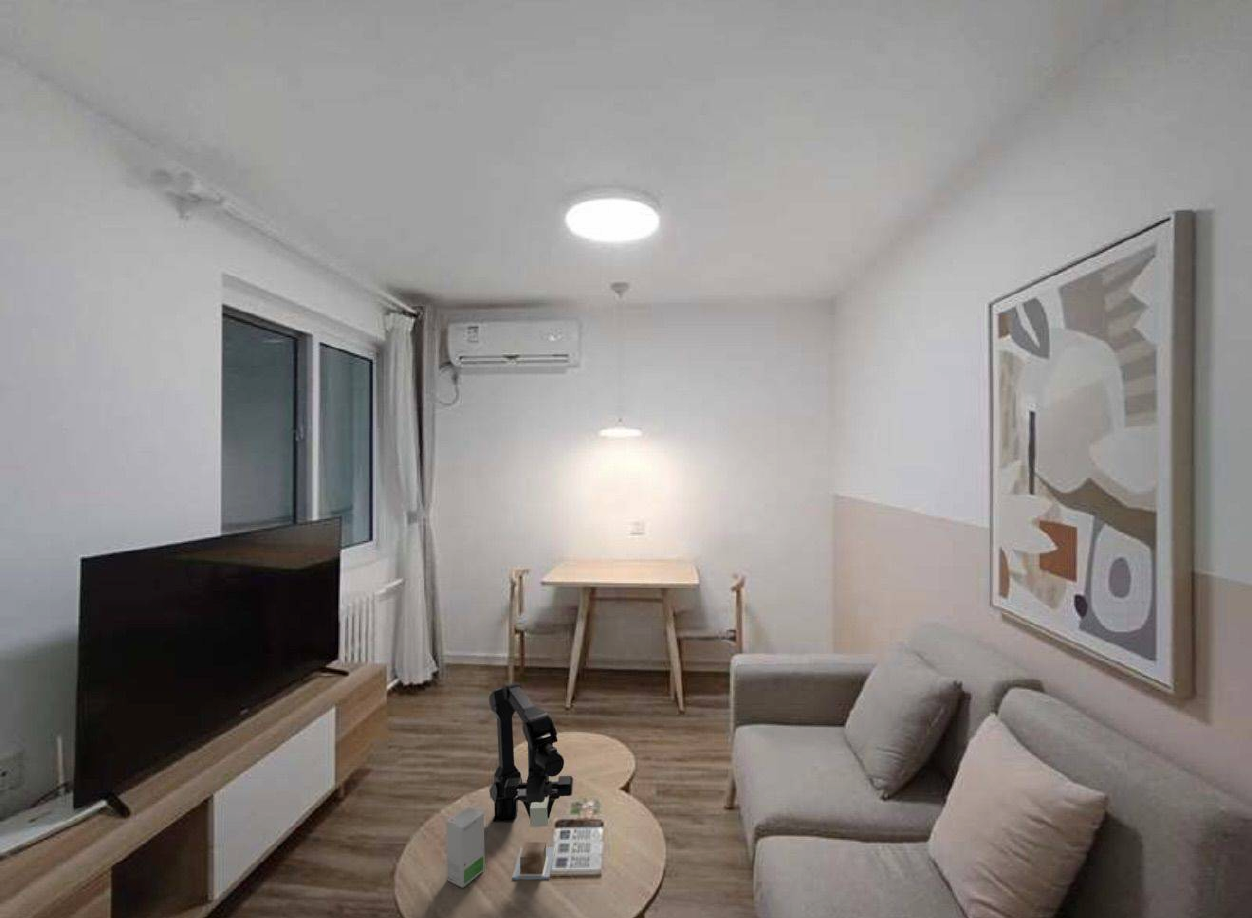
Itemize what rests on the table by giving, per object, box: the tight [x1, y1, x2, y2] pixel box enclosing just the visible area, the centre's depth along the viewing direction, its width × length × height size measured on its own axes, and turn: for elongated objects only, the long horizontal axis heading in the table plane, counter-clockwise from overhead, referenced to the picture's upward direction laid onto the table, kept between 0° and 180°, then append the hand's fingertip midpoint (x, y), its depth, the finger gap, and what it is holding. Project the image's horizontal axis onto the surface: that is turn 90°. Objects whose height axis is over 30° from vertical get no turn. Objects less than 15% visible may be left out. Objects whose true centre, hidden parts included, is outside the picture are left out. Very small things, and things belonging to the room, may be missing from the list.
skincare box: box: [445, 806, 485, 888], centre depth 153 cm, size 8×7×16 cm
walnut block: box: [520, 841, 547, 874], centre depth 155 cm, size 6×6×4 cm
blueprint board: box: [511, 846, 554, 881], centre depth 157 cm, size 10×12×1 cm
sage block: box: [529, 797, 550, 828], centre depth 158 cm, size 5×5×5 cm
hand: (539, 817), depth 158 cm, fingers closed on sage block, 5 cm apart
